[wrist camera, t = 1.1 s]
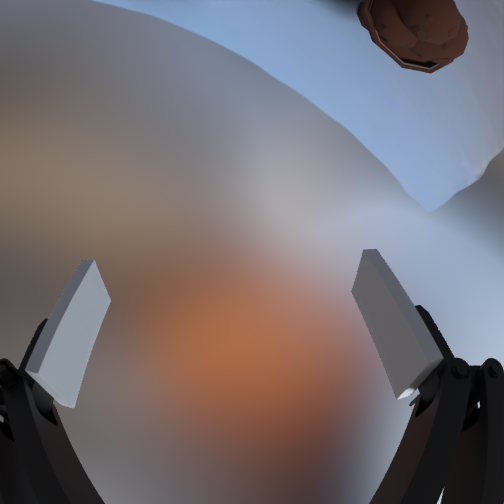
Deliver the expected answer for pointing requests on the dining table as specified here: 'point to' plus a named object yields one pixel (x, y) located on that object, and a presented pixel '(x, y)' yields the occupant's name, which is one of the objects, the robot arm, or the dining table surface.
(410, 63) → the ice cream bowl
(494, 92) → the dining table surface
